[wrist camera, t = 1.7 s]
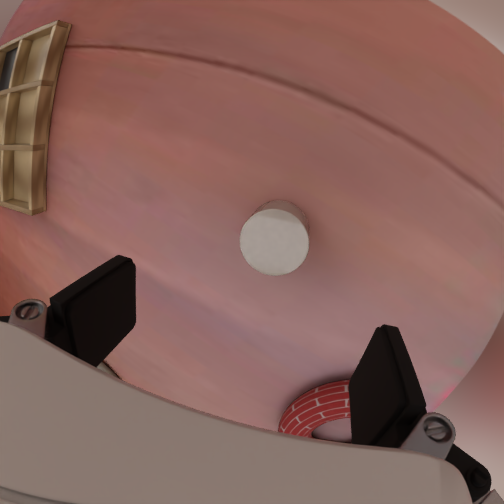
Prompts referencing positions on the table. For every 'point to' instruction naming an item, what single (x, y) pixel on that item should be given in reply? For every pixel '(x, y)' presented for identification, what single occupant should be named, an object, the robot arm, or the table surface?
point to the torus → (316, 409)
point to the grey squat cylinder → (275, 238)
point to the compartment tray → (28, 114)
